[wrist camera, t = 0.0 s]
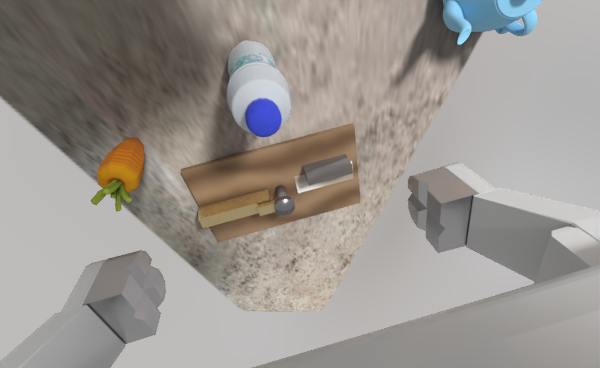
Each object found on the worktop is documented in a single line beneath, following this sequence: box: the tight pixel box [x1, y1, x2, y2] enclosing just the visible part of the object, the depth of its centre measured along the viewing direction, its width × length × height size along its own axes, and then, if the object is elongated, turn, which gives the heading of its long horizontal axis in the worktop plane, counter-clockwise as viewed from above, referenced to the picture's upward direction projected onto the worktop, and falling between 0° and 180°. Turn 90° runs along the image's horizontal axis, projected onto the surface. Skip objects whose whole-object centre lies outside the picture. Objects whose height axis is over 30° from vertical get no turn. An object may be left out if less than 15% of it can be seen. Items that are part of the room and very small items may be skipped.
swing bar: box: [198, 189, 295, 228], centre depth 54 cm, size 17×4×5 cm, turn 101°
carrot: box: [91, 138, 144, 211], centre depth 41 cm, size 5×5×15 cm
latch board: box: [181, 124, 360, 242], centre depth 56 cm, size 18×30×5 cm, turn 101°
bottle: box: [227, 40, 291, 137], centre depth 35 cm, size 7×7×20 cm
